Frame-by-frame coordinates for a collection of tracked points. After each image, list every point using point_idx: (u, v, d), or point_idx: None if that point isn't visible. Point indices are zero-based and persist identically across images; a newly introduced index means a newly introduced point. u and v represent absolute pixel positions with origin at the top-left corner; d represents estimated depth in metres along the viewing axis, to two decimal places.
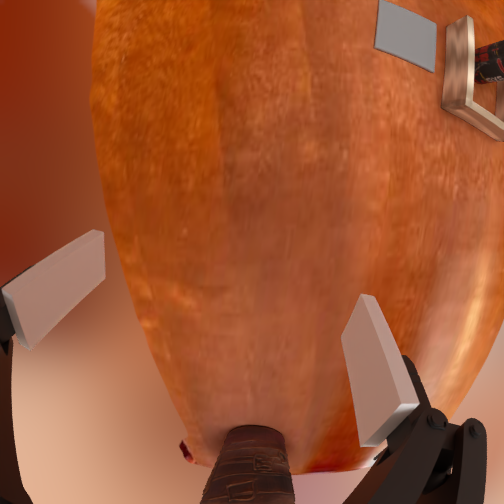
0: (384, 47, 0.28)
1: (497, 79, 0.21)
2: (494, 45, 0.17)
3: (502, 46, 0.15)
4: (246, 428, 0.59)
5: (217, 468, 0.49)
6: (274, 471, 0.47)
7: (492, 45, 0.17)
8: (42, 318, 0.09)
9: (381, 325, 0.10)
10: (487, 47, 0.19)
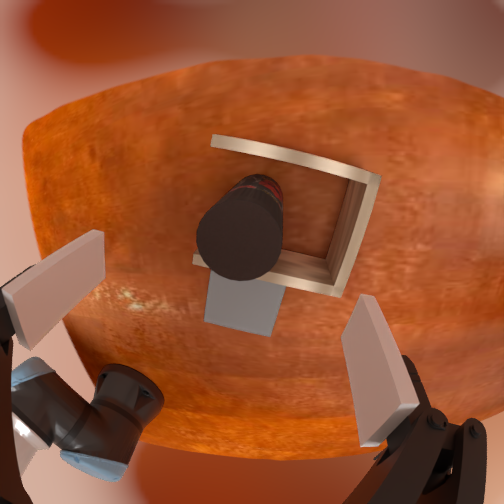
0: (268, 328, 0.39)
1: None
2: None
3: None
4: None
5: None
6: None
7: None
8: (42, 318, 0.09)
9: (381, 325, 0.10)
10: None
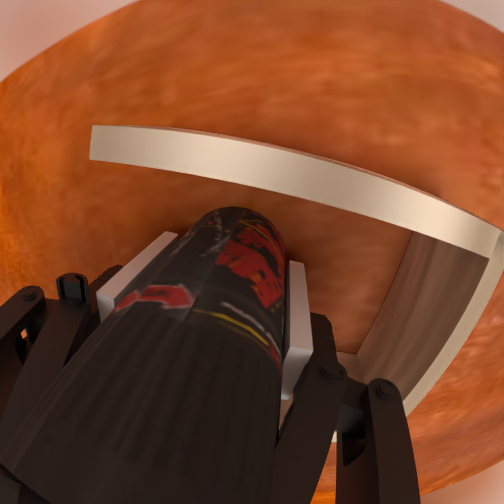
0: None
1: None
2: None
3: None
4: None
5: None
6: None
7: None
8: None
9: (298, 285, 0.12)
10: None
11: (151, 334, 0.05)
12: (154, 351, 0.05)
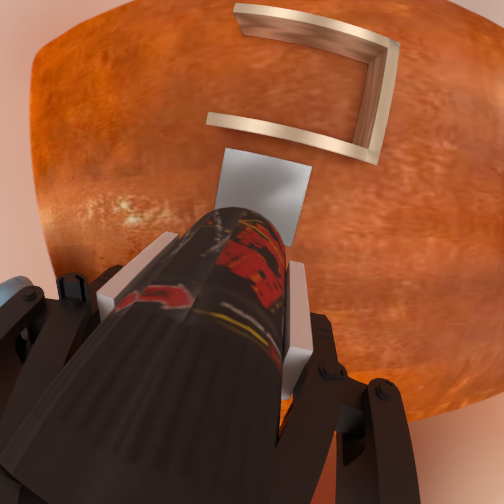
0: (289, 235, 0.33)
1: None
2: None
3: None
4: None
5: None
6: None
7: None
8: None
9: (299, 285, 0.12)
10: None
11: (150, 334, 0.05)
12: (153, 352, 0.05)
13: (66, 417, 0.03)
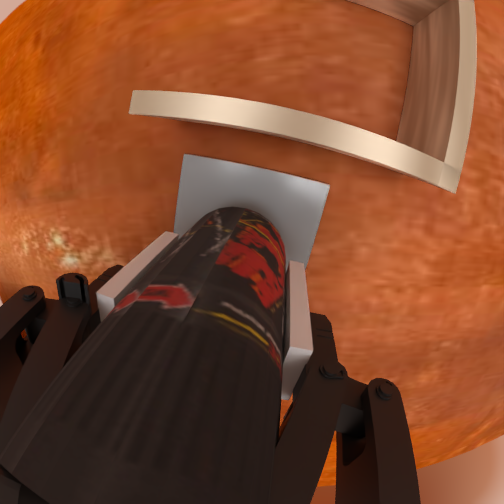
0: None
1: None
2: None
3: None
4: None
5: None
6: None
7: None
8: None
9: (298, 285, 0.12)
10: None
11: (151, 334, 0.05)
12: (154, 351, 0.05)
13: (66, 416, 0.03)
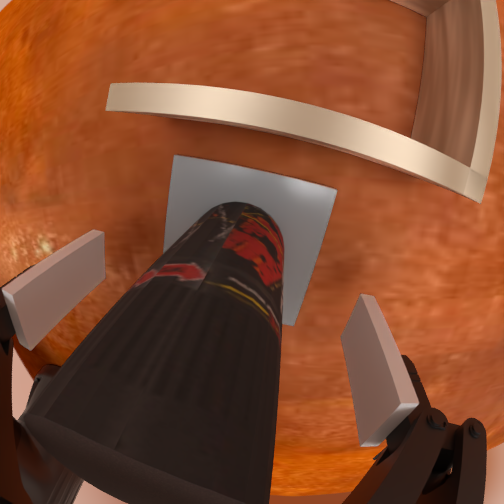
0: (291, 308, 0.19)
1: None
2: None
3: None
4: None
5: None
6: None
7: None
8: (42, 318, 0.09)
9: (381, 325, 0.10)
10: None
11: (170, 299, 0.07)
12: (174, 311, 0.06)
13: (99, 363, 0.04)
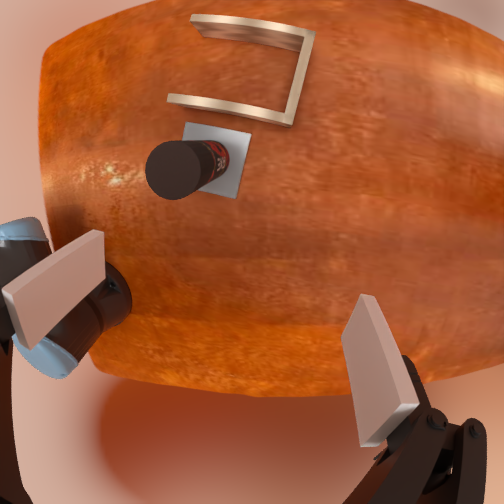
0: (233, 189, 0.41)
1: (221, 163, 0.34)
2: None
3: None
4: None
5: None
6: None
7: None
8: (42, 318, 0.09)
9: (381, 325, 0.10)
10: None
11: (187, 140, 0.28)
12: None
13: None
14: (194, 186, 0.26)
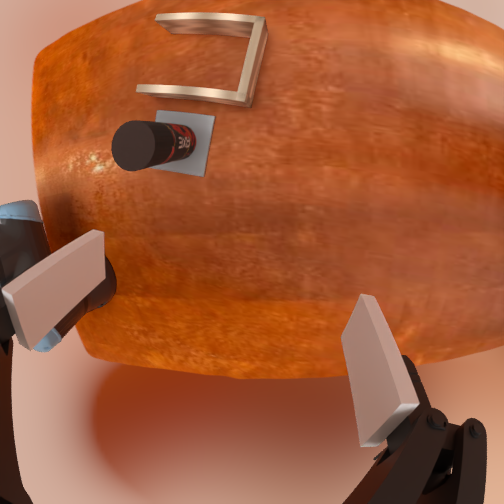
0: (201, 167, 0.43)
1: (183, 142, 0.36)
2: None
3: None
4: None
5: None
6: None
7: None
8: (42, 318, 0.09)
9: (381, 325, 0.10)
10: None
11: None
12: (149, 121, 0.30)
13: None
14: (150, 157, 0.28)
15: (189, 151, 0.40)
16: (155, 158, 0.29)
